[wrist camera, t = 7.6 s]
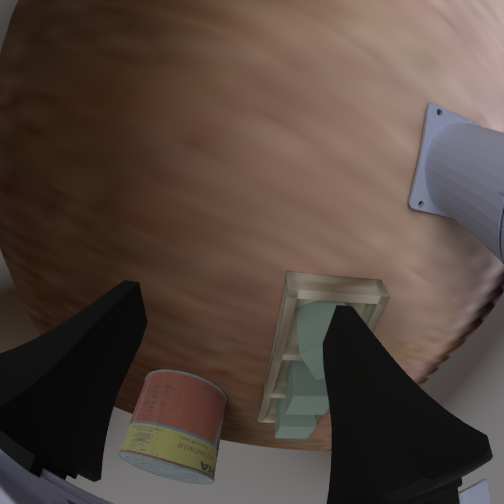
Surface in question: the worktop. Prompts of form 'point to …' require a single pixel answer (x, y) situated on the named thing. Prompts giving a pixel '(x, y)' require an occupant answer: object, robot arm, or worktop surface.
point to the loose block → (314, 333)
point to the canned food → (176, 427)
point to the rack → (286, 335)
